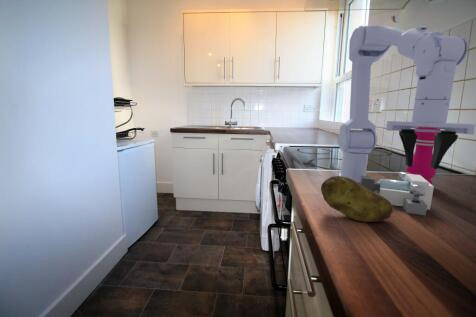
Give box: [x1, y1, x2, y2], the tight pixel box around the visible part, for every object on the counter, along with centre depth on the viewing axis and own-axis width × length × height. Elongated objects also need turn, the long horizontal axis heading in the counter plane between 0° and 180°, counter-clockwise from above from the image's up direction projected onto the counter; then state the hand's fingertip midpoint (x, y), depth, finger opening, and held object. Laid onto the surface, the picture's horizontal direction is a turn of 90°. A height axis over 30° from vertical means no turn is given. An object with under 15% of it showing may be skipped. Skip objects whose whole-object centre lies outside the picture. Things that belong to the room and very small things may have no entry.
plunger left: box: [397, 171, 411, 181], centre depth 66 cm, size 3×3×4 cm
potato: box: [320, 175, 393, 223], centre depth 51 cm, size 8×13×8 cm, turn 52°
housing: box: [374, 174, 435, 216], centre depth 61 cm, size 15×10×6 cm, turn 158°
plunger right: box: [409, 184, 426, 203], centre depth 55 cm, size 3×3×4 cm
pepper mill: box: [405, 127, 441, 185], centre depth 74 cm, size 7×7×20 cm
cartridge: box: [359, 175, 411, 194], centre depth 62 cm, size 4×12×5 cm, turn 68°
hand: (421, 166), depth 54 cm, fingers open, 4 cm apart
